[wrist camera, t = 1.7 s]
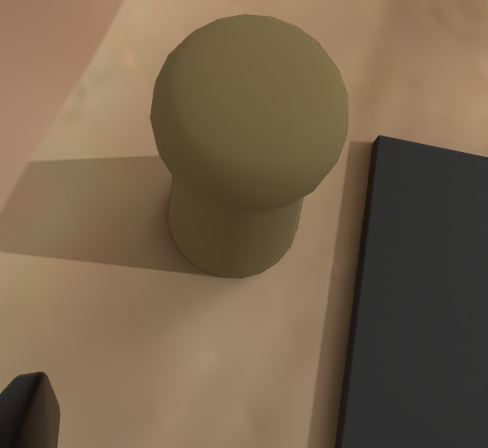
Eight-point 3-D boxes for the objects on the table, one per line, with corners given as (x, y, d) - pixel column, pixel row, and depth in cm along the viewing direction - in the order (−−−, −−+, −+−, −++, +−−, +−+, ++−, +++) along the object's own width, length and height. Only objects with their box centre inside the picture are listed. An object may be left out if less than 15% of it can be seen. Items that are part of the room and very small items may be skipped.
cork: (140, 206, 21) (67, 64, 10) (239, 128, 22) (263, -67, 12) (227, 306, 20) (245, 263, 10) (325, 219, 22) (435, 96, 11)
